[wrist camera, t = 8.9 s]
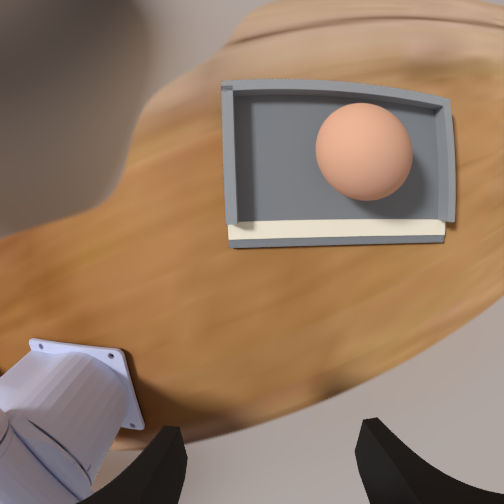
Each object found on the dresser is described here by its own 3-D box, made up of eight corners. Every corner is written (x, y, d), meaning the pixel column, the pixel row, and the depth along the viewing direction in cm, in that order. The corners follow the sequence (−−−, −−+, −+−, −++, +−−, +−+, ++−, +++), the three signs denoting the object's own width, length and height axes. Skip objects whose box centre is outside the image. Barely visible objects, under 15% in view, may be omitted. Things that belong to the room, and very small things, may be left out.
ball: (307, 199, 17) (334, 202, 12) (304, 112, 16) (328, 85, 11) (386, 199, 17) (432, 204, 12) (382, 118, 16) (426, 99, 11)
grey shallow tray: (229, 246, 18) (227, 252, 17) (224, 89, 16) (221, 81, 15) (440, 241, 18) (453, 245, 16) (437, 103, 16) (449, 98, 14)
